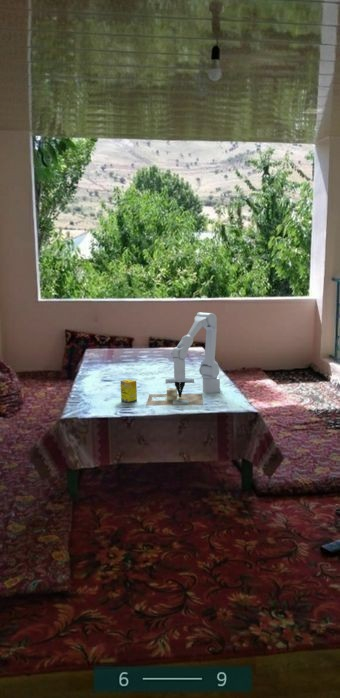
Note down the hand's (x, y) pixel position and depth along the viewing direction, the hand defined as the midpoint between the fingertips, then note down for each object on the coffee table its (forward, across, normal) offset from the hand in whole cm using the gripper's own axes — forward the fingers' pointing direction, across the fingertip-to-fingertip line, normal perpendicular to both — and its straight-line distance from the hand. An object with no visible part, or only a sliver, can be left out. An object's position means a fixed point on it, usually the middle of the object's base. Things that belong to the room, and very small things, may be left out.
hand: (180, 396), depth 268 cm
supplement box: (+3, -26, +1) cm, 27 cm away
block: (+1, -4, 0) cm, 4 cm away
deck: (+2, -2, -2) cm, 4 cm away
